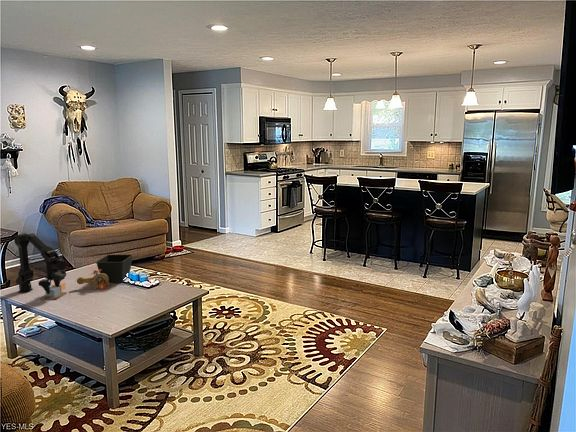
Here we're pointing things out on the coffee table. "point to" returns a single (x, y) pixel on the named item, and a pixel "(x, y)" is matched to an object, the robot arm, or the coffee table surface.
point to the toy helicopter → (96, 280)
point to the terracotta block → (61, 286)
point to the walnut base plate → (53, 297)
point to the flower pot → (115, 267)
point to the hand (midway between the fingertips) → (53, 291)
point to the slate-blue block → (54, 291)
